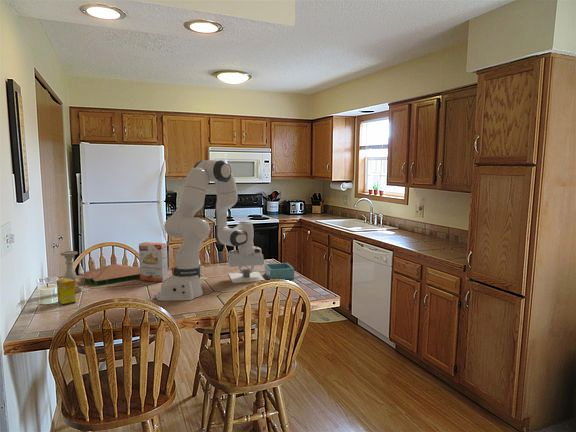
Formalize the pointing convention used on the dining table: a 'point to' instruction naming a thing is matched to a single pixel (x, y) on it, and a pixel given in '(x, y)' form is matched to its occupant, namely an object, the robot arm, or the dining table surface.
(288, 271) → the teal open box
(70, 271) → the candle holder
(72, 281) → the supplement box
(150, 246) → the cracker box
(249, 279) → the lid
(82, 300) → the dining table surface
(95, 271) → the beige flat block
